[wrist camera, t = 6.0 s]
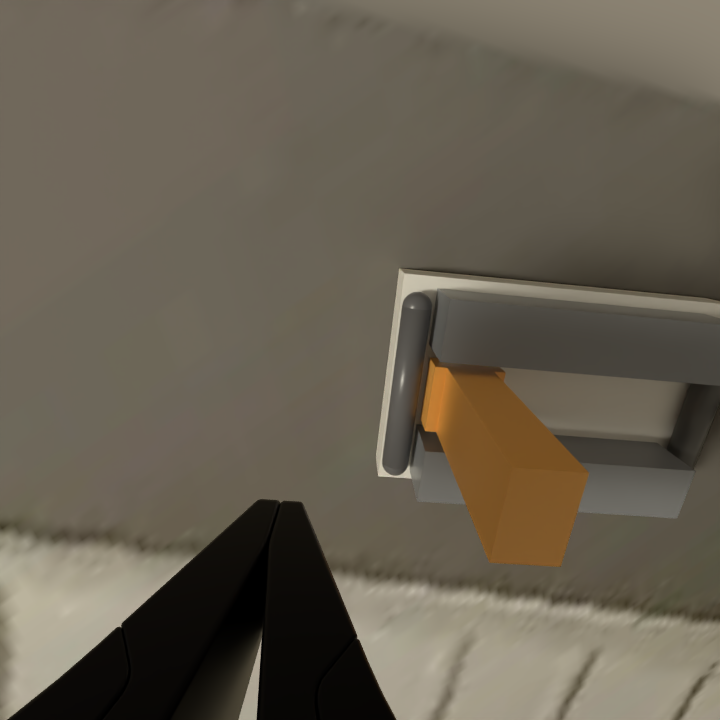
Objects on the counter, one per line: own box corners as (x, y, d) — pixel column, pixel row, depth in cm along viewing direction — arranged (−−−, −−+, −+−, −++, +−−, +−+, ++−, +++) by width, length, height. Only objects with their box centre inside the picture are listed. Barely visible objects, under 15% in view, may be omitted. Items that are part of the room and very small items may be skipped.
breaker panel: (705, 298, 17) (794, 318, 13) (642, 475, 19) (704, 529, 16) (399, 268, 16) (412, 282, 13) (376, 456, 19) (382, 508, 15)
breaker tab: (496, 363, 15) (607, 474, 9) (483, 423, 16) (577, 567, 10) (429, 357, 15) (493, 466, 9) (420, 418, 16) (471, 561, 9)
